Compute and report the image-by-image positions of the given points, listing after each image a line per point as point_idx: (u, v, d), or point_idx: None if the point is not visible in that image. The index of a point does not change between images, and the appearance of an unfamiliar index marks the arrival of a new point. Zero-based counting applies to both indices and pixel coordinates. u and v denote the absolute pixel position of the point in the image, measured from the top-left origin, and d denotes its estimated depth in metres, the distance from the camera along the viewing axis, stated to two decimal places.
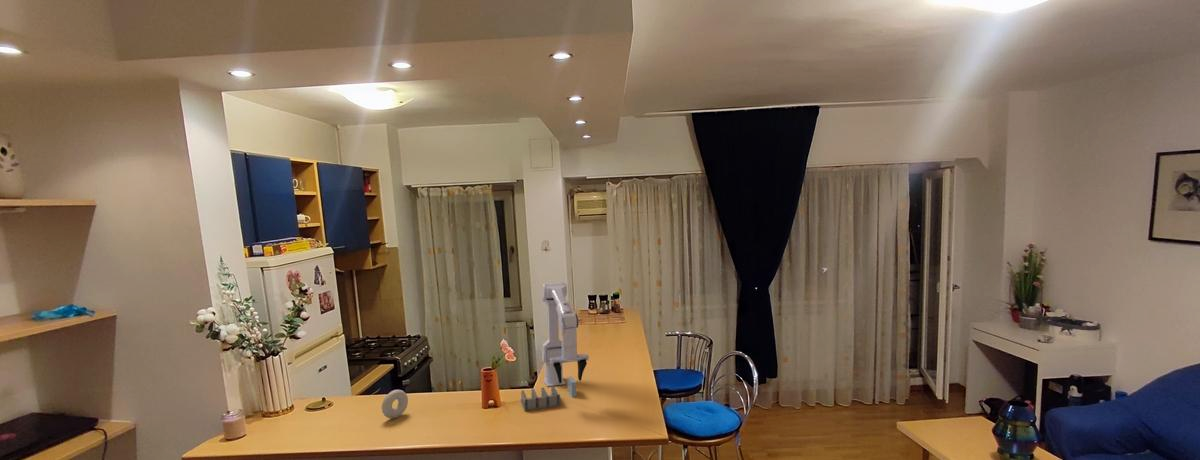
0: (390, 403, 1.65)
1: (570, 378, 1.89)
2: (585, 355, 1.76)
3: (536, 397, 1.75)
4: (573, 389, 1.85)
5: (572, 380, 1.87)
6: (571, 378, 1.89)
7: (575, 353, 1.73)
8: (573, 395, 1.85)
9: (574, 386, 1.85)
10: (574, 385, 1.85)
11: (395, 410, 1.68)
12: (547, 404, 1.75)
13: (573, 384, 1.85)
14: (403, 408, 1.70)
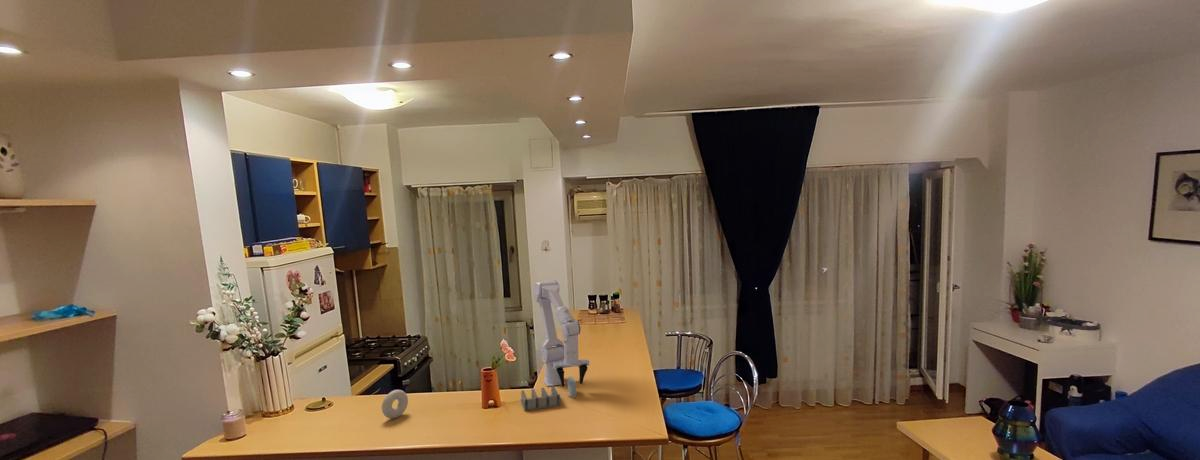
0: (390, 403, 1.65)
1: (570, 378, 1.89)
2: (586, 360, 1.90)
3: (536, 397, 1.75)
4: (573, 389, 1.85)
5: (572, 380, 1.87)
6: (571, 378, 1.89)
7: (577, 358, 1.86)
8: (573, 395, 1.85)
9: (574, 386, 1.85)
10: (574, 385, 1.85)
11: (395, 410, 1.68)
12: (547, 404, 1.75)
13: (573, 384, 1.85)
14: (403, 408, 1.70)
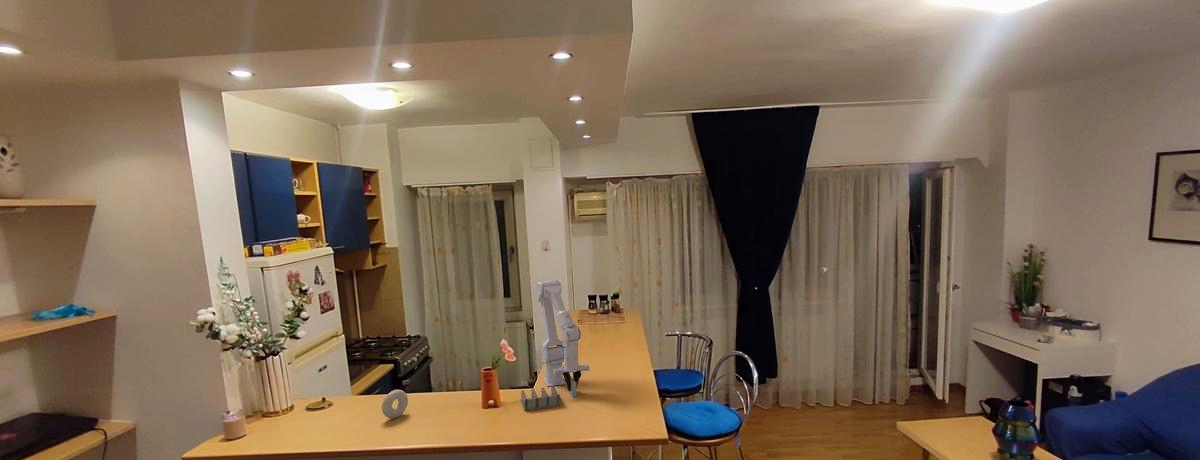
0: (390, 403, 1.65)
1: None
2: (586, 366, 1.90)
3: (536, 397, 1.75)
4: (573, 389, 1.85)
5: (572, 379, 1.87)
6: (571, 378, 1.89)
7: (577, 364, 1.86)
8: (573, 395, 1.85)
9: (574, 386, 1.85)
10: (574, 385, 1.85)
11: (395, 410, 1.68)
12: (547, 404, 1.75)
13: (573, 384, 1.85)
14: (403, 408, 1.70)
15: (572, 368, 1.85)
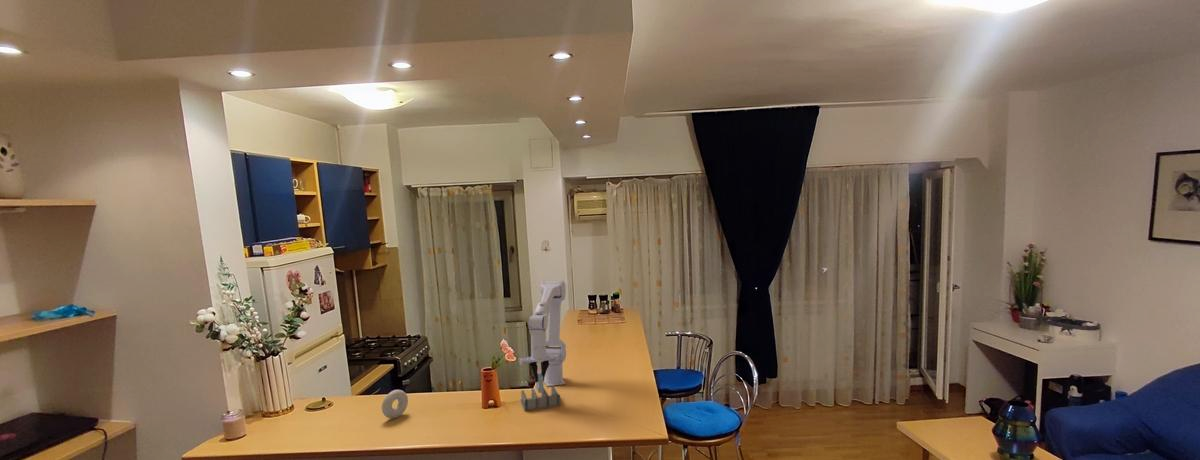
0: (390, 403, 1.65)
1: (538, 373, 1.81)
2: (554, 356, 1.81)
3: (536, 397, 1.75)
4: (540, 384, 1.76)
5: (539, 374, 1.79)
6: (539, 373, 1.81)
7: (544, 354, 1.78)
8: (540, 390, 1.76)
9: (541, 381, 1.76)
10: (541, 380, 1.76)
11: (395, 410, 1.68)
12: (547, 404, 1.75)
13: (540, 379, 1.76)
14: (403, 408, 1.70)
15: (539, 358, 1.76)
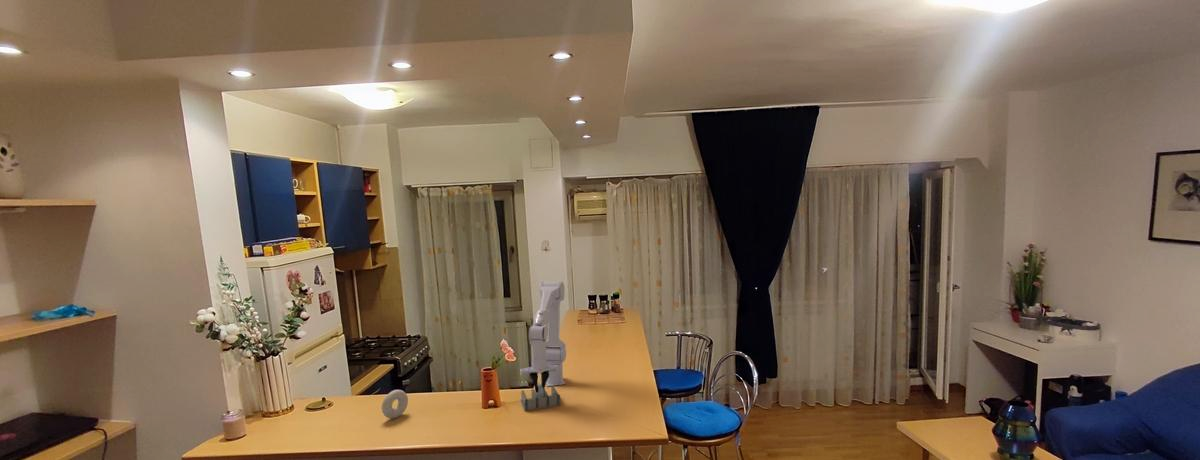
0: (390, 403, 1.65)
1: (538, 384, 1.81)
2: (555, 366, 1.81)
3: (536, 397, 1.75)
4: (540, 395, 1.76)
5: (539, 386, 1.79)
6: (539, 384, 1.81)
7: (544, 364, 1.78)
8: None
9: (541, 392, 1.76)
10: (541, 391, 1.76)
11: (395, 410, 1.68)
12: (547, 404, 1.75)
13: (540, 390, 1.76)
14: (403, 408, 1.70)
15: (539, 368, 1.76)
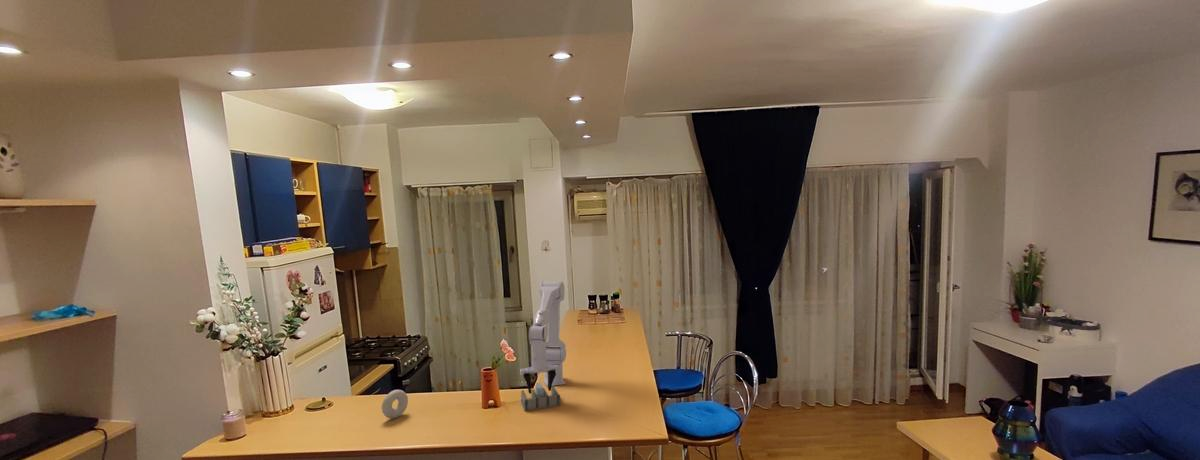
0: (390, 403, 1.65)
1: (538, 385, 1.81)
2: (555, 366, 1.81)
3: (536, 397, 1.75)
4: (540, 396, 1.76)
5: (540, 386, 1.79)
6: (539, 385, 1.81)
7: (544, 364, 1.78)
8: None
9: (541, 393, 1.76)
10: (541, 392, 1.76)
11: (395, 410, 1.68)
12: (547, 404, 1.75)
13: (540, 391, 1.76)
14: (403, 408, 1.70)
15: (539, 368, 1.76)
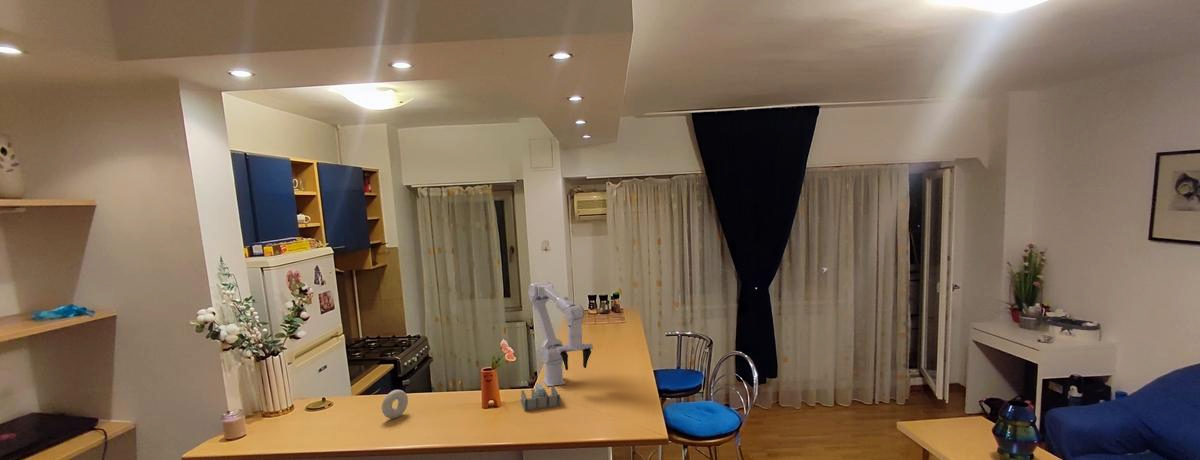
0: (390, 403, 1.65)
1: (538, 385, 1.81)
2: (589, 344, 1.91)
3: (536, 397, 1.75)
4: (540, 396, 1.76)
5: (540, 386, 1.79)
6: (539, 385, 1.81)
7: (580, 342, 1.88)
8: None
9: (541, 393, 1.76)
10: (541, 392, 1.76)
11: (395, 410, 1.68)
12: (547, 404, 1.75)
13: (540, 391, 1.76)
14: (403, 408, 1.70)
15: (576, 346, 1.86)
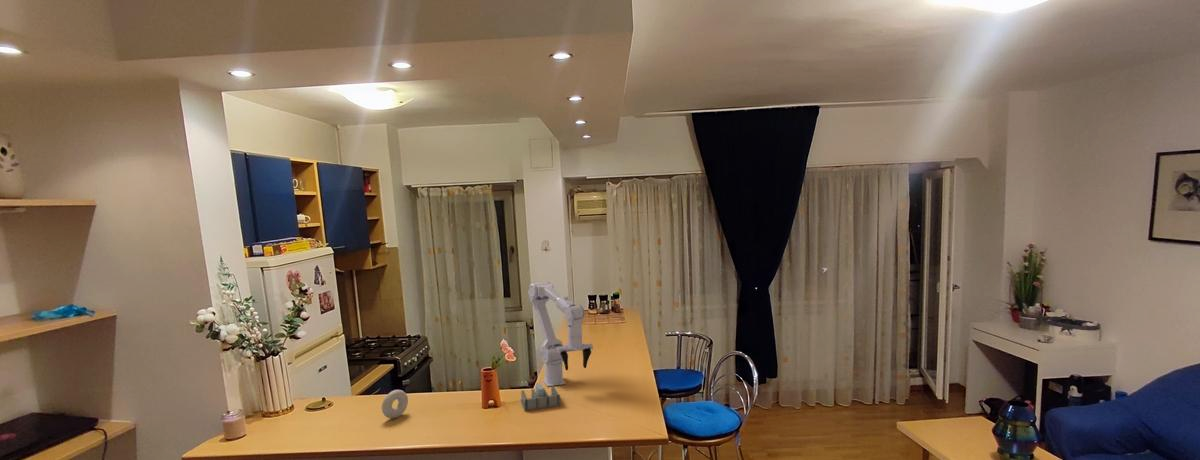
0: (390, 403, 1.65)
1: (538, 385, 1.81)
2: (590, 344, 1.91)
3: (536, 397, 1.75)
4: (540, 396, 1.76)
5: (540, 386, 1.79)
6: (539, 385, 1.81)
7: (580, 342, 1.88)
8: None
9: (541, 393, 1.76)
10: (541, 392, 1.76)
11: (395, 410, 1.68)
12: (547, 404, 1.75)
13: (540, 391, 1.76)
14: (403, 408, 1.70)
15: (576, 346, 1.86)
